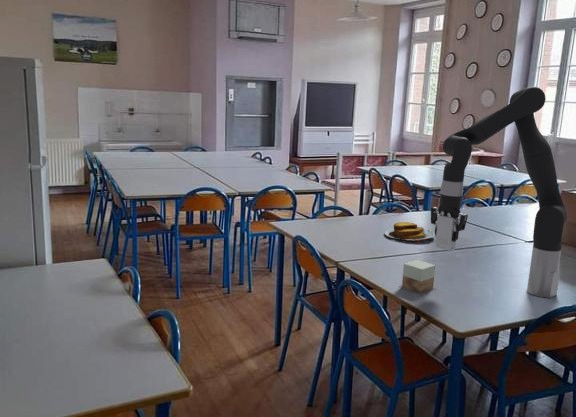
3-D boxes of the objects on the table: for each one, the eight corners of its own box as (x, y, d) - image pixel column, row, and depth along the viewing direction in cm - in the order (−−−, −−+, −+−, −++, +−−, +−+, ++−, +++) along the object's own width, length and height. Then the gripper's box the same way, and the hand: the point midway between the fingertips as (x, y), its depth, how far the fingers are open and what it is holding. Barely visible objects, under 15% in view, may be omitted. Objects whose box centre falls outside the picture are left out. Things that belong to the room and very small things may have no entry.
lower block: (433, 288, 196) (434, 277, 195) (420, 293, 191) (421, 281, 190) (414, 282, 202) (415, 271, 201) (401, 286, 197) (402, 275, 196)
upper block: (434, 277, 195) (435, 265, 194) (421, 281, 190) (422, 269, 189) (415, 271, 201) (416, 259, 200) (402, 275, 196) (403, 263, 195)
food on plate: (429, 247, 253) (430, 233, 252) (378, 239, 264) (379, 226, 262) (439, 235, 276) (440, 223, 274) (392, 228, 286) (393, 216, 285)
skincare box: (455, 249, 193) (459, 216, 190) (449, 251, 190) (453, 218, 187) (440, 245, 197) (443, 213, 194) (433, 247, 194) (437, 215, 191)
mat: (436, 289, 196) (436, 288, 196) (420, 295, 189) (420, 294, 189) (414, 282, 203) (414, 281, 203) (397, 287, 197) (398, 286, 197)
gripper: (475, 196, 186) (469, 242, 190) (440, 188, 196) (435, 232, 200) (463, 198, 181) (457, 245, 185) (428, 190, 192) (422, 235, 195)
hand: (445, 238), depth 192 cm, fingers closed on skincare box, 6 cm apart
